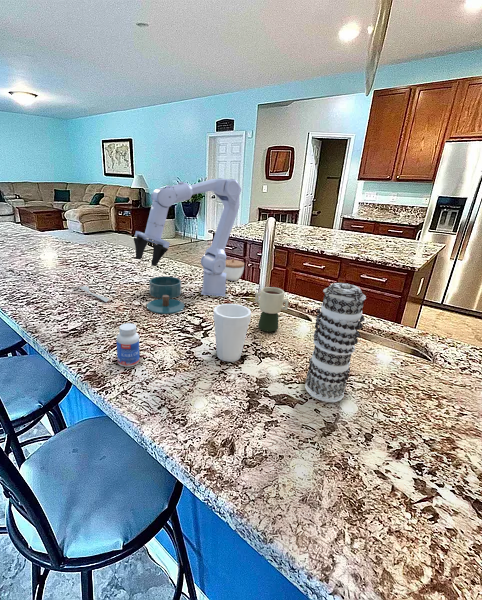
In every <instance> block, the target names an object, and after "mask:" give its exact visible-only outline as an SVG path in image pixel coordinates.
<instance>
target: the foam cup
mask: <svg viewBox="0 0 482 600" xmlns="http://www.w3.org/2000/svg"><path fill="white" fill-rule="evenodd" d="M251 315H252V311H251V309H250V308H249V307H248V306H244V305H242V304H237V303H222V304H218V305H216V306H215V307H214V308H213V317H212V319H213V323H214V335H215V348H216V356H217V358H218V359H220V360H221V361H222V362H223V361H224V362H227V363H232V362H237V361H239V360H240V359H241V356H242V355H243V354H242V353H243V350H244V345H245V341H246V337H247V333H248V329H249V325H250V323H251Z"/></svg>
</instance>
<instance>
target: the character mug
mask: <svg viewBox="0 0 482 600" xmlns="http://www.w3.org/2000/svg"><path fill="white" fill-rule="evenodd" d="M254 302H255V303H258V307H259V311H261V313H260V316H259V320H258V323H257V327H258V328H259V330H261V331H264V332H267V333H268V332H275V331H277V330H279V313H281V311H282V310H284V311H288V309H289V300H288V299H285V291H284V289H282V288H279V287H274V286H265V287H261V289H260V292H258V291H256V292H255V298H254Z"/></svg>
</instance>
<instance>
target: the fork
mask: <svg viewBox="0 0 482 600" xmlns="http://www.w3.org/2000/svg"><path fill="white" fill-rule="evenodd" d="M78 289H80V290H82V291H85V292H86V293H88V294H90V295H92V296H94V297H96V298H98V299H99V300H101V301H102V302H104V303H108V301H109V300H110V299H109V298H108V297H105V296H103V295H100V294H99V295H98V294H95V293H93V292H91V291H90V288H89V287H88V286H86V285H83V286H80V287H79V286H78V287H76V288H75V290H78Z"/></svg>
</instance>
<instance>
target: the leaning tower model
mask: <svg viewBox="0 0 482 600" xmlns="http://www.w3.org/2000/svg"><path fill="white" fill-rule="evenodd" d="M322 292H323V294H324V296H323V301H322V303H321V307H320V308H318V309H316V313H317V315H315V316H316V318H315V325H314V328H315V330H314V334H313V344H314V349H313V351H312V354H311V357H310V358H309V361H308V363H309V365H308V366H307V369H308V370H307V373H306V378H305V386H304V388H305V390H306V392H307V393H308V394H309V395H310V396H311V397H312V398H315V399H317V400H318V401H322V402H325V403H337V402H341V401H342V399H343V398H345V397H344V396H345V394H344V393H346V390H345V389H346V388H347V386H348V385H347V383H348V379H349V375H350V373H351V371H350V370H351V368H350V366H351V357H352V355H353V353H354V352H356V347H355V345H358V343H359V340H358V338H359V337H361V333H360V332H359V330H361V329H363V324H362V322H364V321H365V320H366V319H365V316H364V315H363V307H364V303H365V300H366V299H367V296H366V295H365V294H364V293H363V291H362V289H361V288H360V287H358V286H357V285H354V284H350V283H347V282H334V283H331V284H330V285H329V286H328V287H326V288H324V289H323V290H322Z"/></svg>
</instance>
